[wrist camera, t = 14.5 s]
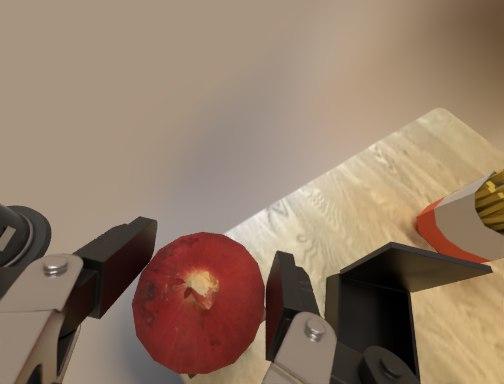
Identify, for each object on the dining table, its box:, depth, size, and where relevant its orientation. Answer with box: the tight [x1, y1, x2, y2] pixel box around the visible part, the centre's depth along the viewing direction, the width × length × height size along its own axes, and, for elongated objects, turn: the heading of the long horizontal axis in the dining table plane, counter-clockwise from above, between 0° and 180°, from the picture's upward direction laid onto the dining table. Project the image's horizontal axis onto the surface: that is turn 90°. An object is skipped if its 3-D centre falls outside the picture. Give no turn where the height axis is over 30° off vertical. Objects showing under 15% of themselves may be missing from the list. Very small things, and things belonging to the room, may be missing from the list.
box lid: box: [340, 242, 493, 293], centre depth 29 cm, size 12×11×1 cm
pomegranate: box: [132, 232, 265, 374], centre depth 11 cm, size 6×6×8 cm
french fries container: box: [417, 169, 504, 263], centre depth 37 cm, size 5×11×18 cm, turn 37°
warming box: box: [325, 273, 420, 382], centre depth 34 cm, size 11×11×4 cm
